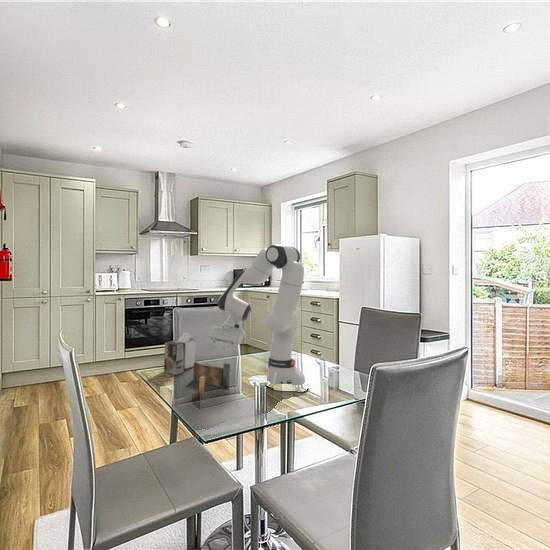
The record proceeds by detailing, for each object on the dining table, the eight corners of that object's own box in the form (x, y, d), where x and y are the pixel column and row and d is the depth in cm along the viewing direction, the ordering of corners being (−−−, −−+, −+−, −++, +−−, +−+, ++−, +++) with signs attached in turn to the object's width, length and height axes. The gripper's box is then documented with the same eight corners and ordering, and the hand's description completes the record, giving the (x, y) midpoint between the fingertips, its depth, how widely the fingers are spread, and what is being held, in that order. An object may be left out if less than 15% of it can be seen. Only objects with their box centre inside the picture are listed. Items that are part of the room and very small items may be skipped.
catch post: (205, 392, 189) (205, 376, 188) (203, 394, 186) (203, 378, 186) (200, 391, 189) (200, 376, 189) (198, 393, 187) (199, 377, 186)
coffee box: (184, 372, 217) (185, 342, 216) (175, 375, 212) (177, 344, 211) (172, 368, 222) (173, 340, 221) (163, 371, 216) (164, 342, 216)
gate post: (229, 387, 197) (230, 363, 197) (227, 389, 194) (228, 365, 193) (223, 386, 198) (224, 362, 197) (221, 389, 195) (222, 364, 194)
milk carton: (184, 369, 222) (186, 335, 221) (176, 366, 227) (177, 333, 226) (194, 366, 228) (196, 333, 227) (186, 364, 232) (187, 331, 231)
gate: (223, 385, 198) (224, 368, 197) (220, 386, 196) (221, 369, 196) (195, 378, 207) (196, 361, 206) (193, 379, 205) (193, 362, 205)
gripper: (213, 321, 224) (201, 341, 217) (243, 326, 214) (231, 348, 206) (218, 328, 229) (206, 347, 221) (247, 333, 218) (236, 354, 210)
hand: (218, 348), depth 213 cm, fingers open, 7 cm apart
